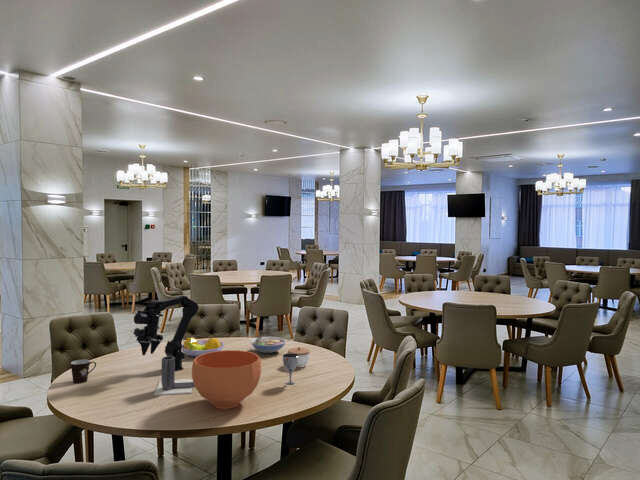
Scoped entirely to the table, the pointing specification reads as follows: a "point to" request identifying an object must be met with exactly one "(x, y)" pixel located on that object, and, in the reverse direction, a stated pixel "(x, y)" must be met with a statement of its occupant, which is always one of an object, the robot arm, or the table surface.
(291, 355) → the wine glass
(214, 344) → the fruit bowl
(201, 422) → the table surface
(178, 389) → the hinge base
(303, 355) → the lidded bowl
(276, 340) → the ramen bowl
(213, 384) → the flowerpot
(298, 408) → the table surface
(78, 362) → the coffee mug
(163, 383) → the loose hinge half
